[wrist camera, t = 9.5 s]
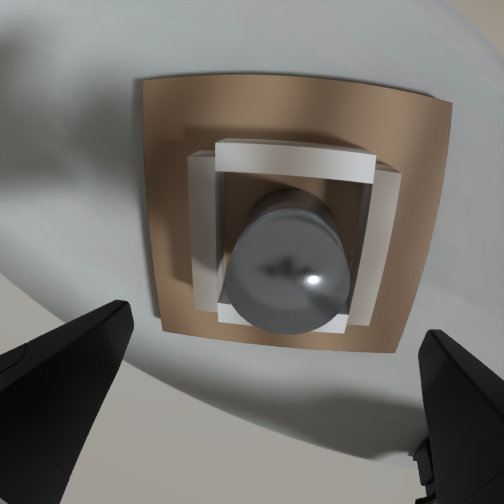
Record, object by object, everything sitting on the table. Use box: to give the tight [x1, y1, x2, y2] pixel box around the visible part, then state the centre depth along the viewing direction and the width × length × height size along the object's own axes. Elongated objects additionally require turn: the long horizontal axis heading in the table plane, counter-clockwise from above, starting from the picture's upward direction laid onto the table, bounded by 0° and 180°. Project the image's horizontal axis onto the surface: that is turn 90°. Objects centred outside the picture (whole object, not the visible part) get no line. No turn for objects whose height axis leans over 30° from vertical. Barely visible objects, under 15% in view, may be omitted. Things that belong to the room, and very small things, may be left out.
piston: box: [225, 188, 350, 335], centre depth 14 cm, size 4×4×5 cm
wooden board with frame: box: [143, 75, 452, 353], centre depth 15 cm, size 15×15×3 cm
